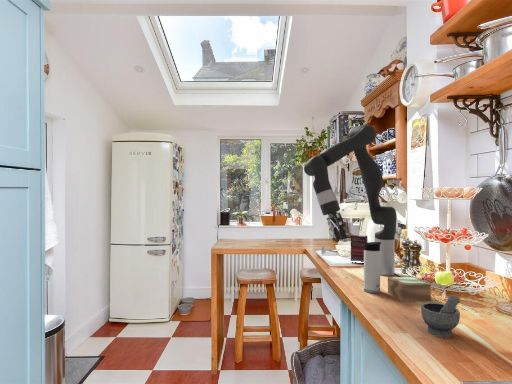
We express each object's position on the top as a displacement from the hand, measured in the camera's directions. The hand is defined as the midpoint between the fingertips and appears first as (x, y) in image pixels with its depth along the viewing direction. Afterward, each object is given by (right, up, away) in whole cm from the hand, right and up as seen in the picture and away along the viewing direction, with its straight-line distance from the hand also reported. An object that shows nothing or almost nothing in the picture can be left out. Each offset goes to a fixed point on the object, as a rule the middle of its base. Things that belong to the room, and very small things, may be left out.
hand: (341, 239), depth 136 cm
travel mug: (+12, -21, -2) cm, 24 cm away
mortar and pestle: (+17, -21, -43) cm, 50 cm away
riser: (+23, -21, -9) cm, 32 cm away
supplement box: (+24, -22, +53) cm, 62 cm away
